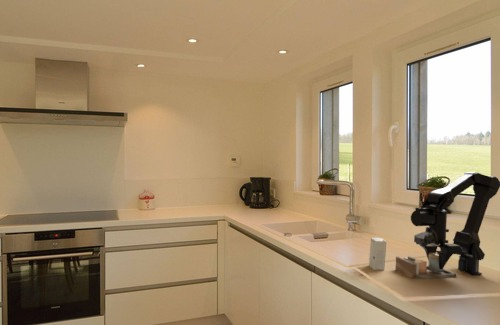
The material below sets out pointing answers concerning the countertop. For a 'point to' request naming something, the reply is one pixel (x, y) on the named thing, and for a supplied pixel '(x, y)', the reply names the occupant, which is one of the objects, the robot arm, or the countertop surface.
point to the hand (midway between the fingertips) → (435, 266)
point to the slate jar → (434, 263)
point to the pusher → (414, 263)
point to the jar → (422, 266)
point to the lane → (409, 270)
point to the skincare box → (377, 254)
